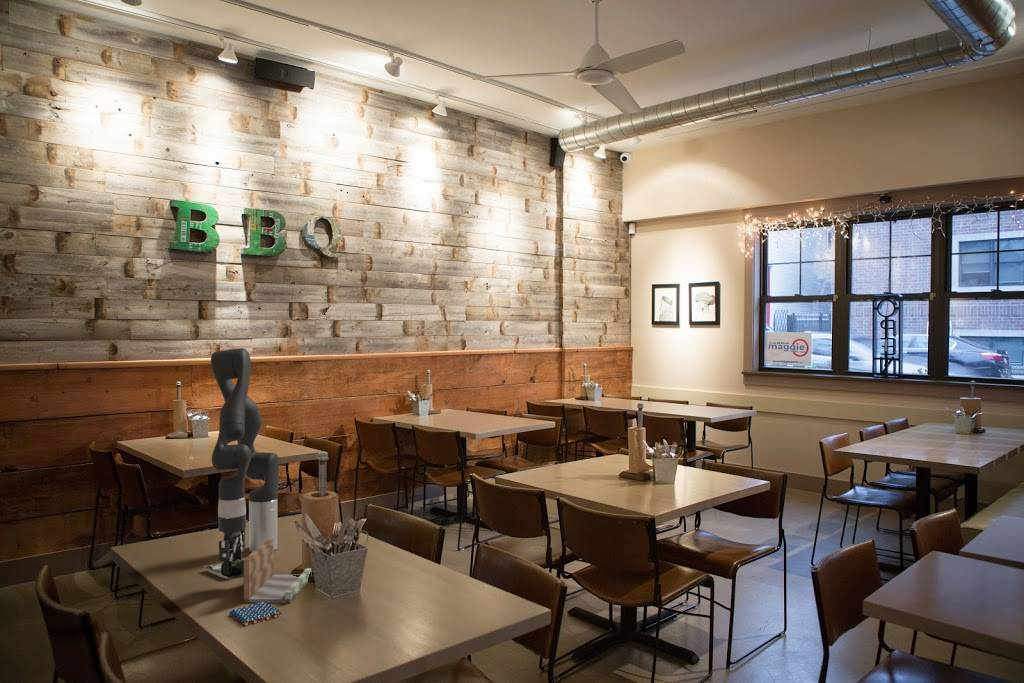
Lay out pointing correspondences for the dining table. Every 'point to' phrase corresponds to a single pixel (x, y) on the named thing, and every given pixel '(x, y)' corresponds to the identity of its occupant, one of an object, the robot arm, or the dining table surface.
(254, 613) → the woven mat
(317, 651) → the dining table surface
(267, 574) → the cleat board
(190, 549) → the dining table surface
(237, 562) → the tape measure
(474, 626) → the dining table surface
